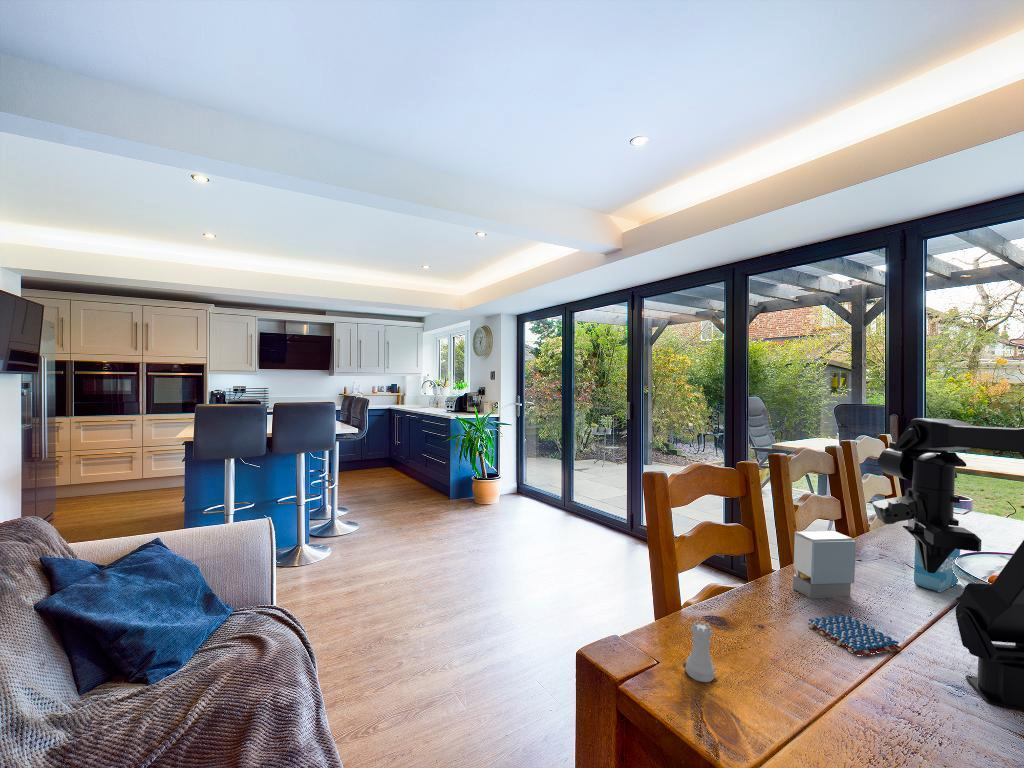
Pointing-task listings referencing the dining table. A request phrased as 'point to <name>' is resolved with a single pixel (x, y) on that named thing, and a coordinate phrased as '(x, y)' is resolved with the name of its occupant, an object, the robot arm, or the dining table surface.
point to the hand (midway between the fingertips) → (929, 571)
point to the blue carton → (935, 580)
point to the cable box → (805, 560)
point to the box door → (833, 562)
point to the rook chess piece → (700, 654)
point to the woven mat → (854, 635)
